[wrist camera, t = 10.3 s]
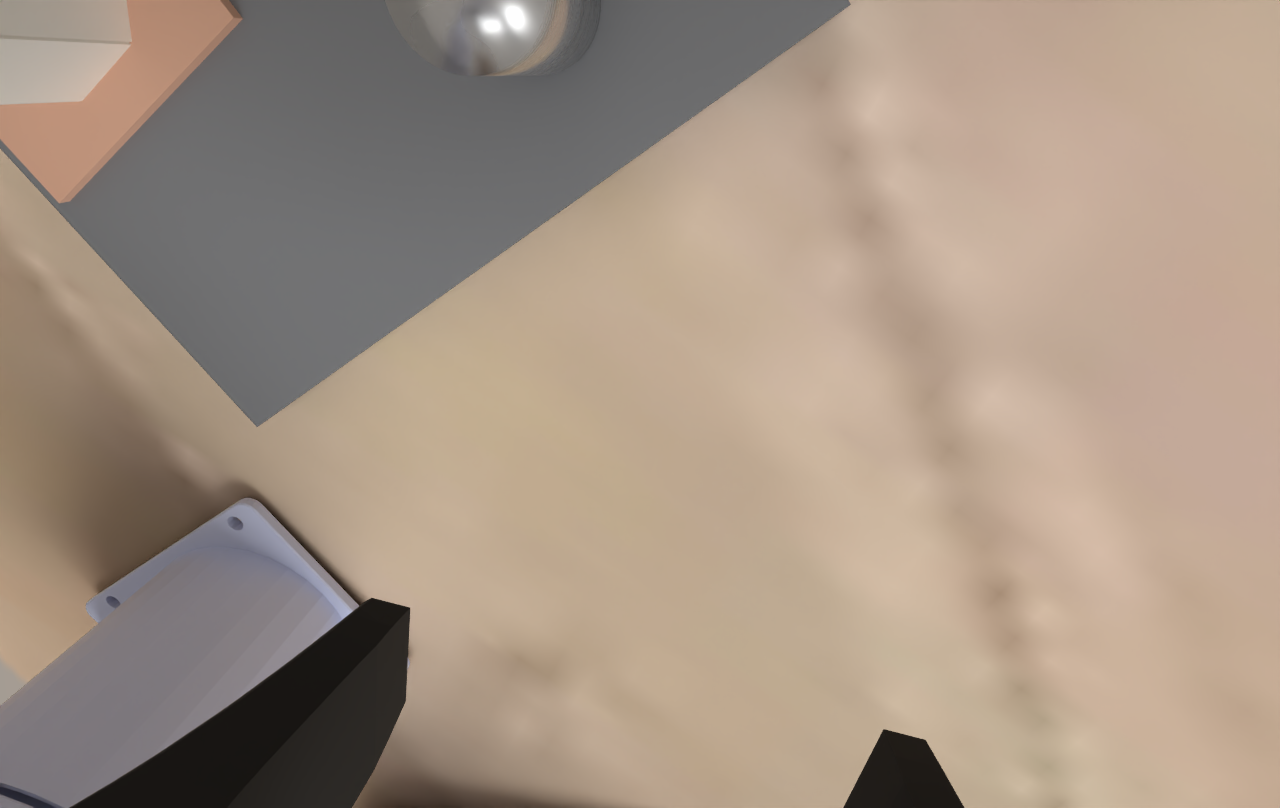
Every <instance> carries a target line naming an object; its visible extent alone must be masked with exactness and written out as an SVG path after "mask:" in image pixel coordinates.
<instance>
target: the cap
mask: <svg viewBox="0 0 1280 808" xmlns="http://www.w3.org/2000/svg"><path fill="white" fill-rule="evenodd" d="M129 42H132V38H131V31H130V23H129V16H128V8H127V0H0V105H7V104H32V103H57V102H80V101H83V100H84V99H85V97H86V96H87V95H88V94H89V93H90V92H91V90H92V89H93V88H94V87H95V86H96V85H97V84H98V82H99V81H100V80H101V79H102V78H103V77H104V76H105V74H106V73H107V72H108V71H109V70H110V69H111V68H112V66H113V65H114V64H115V63H116V62H117V61H118V60H119V58H120V57H121V56H122V55H123V54H124V53H125V52H126V50H127V49H128V48H129V47H130V46H131V44H130V43H129Z"/></svg>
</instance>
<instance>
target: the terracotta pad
mask: <svg viewBox="0 0 1280 808" xmlns="http://www.w3.org/2000/svg"><path fill="white" fill-rule="evenodd" d="M127 8H128V16H129V23H130V31H131V38H132V42H129V43H130V44H131V46H130V47H129V48H128V49H127V50H126V52H125V53H124V54H123V55H122V56H121V57H120V58H119V60H118V61H117V62H116V63H115V64H114V65H113V66H112V68H111V69H110V70H109V71H108V72H107V73H106V74H105V76H104V77H103V78H102V79H101V80H100V81H99V82H98V84H97V85H96V86H95V87H94V88H93V89H92V90H91V92H90V93H89V94H88V95H87V96H86V97H85V99H84V100H83V101H80V102H57V103H32V104H7V105H0V139H1V141H2V142H3V143H4V144H5V145H6V146H7V147H8V148H9V149H10V150H11V151H12V153H13V154H14V155H15V156H16V157H17V158H18V159H19V160H20V161H21V162H22V163H23V165H24V166H25V167H26V168H27V169H28V170H29V171H30V172H31V173H32V174H33V175H34V177H35V178H36V179H37V180H38V181H39V182H40V183H41V184H42V185H43V186H44V187H45V189H46V190H47V191H48V192H49V193H50V194H51V195H52V196H53V197H54V198H55V199H56V201H57V202H58V203H64V202H69V201H71V200H72V199H73V198H74V197H75V195H76V194H77V193H78V192H79V191H80V190H81V189H82V188H83V187H84V186H85V185H86V184H87V183H88V182H89V181H90V180H91V179H92V178H93V176H94V175H95V174H96V173H97V172H98V171H99V170H100V169H101V168H102V167H103V166H104V165H105V164H106V163H107V162H108V161H109V160H110V159H111V157H112V156H113V155H114V154H115V153H116V152H117V151H118V150H119V149H120V148H121V147H122V146H123V145H124V144H125V143H126V142H127V141H128V140H129V139H130V137H131V136H132V135H133V134H134V133H135V132H136V131H137V130H138V129H139V128H140V127H141V126H142V125H143V124H144V123H145V122H146V121H147V120H148V118H149V117H150V116H151V115H152V114H153V113H154V112H155V111H156V110H157V109H158V108H159V107H160V106H161V105H162V104H163V103H164V102H165V101H166V99H167V98H168V97H169V96H170V95H171V94H172V93H173V92H174V91H175V90H176V89H177V88H178V87H179V86H180V85H181V84H182V83H183V82H184V80H185V79H186V78H187V77H188V76H189V75H190V74H191V73H192V72H193V71H194V70H195V69H196V68H197V67H198V66H199V65H200V64H201V63H202V62H203V60H204V59H205V58H206V57H207V56H208V55H209V54H210V53H211V52H212V51H213V50H214V49H215V48H216V47H217V46H218V45H219V44H220V43H221V41H222V40H223V39H224V38H225V37H226V36H227V35H228V34H229V33H230V32H231V31H232V30H233V29H234V28H235V27H236V26H237V25H238V24H239V22H240V21H241V20H242V19H243V18H242V17H241V15H240V14H239V13H238V12H237V10H236V9H235V8H234V6H233V5H232V4H231V2H230V1H229V0H127Z"/></svg>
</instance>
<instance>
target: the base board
mask: <svg viewBox="0 0 1280 808" xmlns="http://www.w3.org/2000/svg"><path fill="white" fill-rule="evenodd" d="M229 1H230V2H231V4H232V5H233V6H234V8H235V9H236V10H237V12H238V13H239V14H240V15H241V17H242V18H243V19H242V20H241V21H240V22H239V24H238V25H237V26H236V27H235V28H234V29H233V30H232V31H231V32H230V33H229V34H228V35H227V36H226V37H225V38H224V39H223V40H222V41H221V43H220V44H219V45H218V46H217V47H216V48H215V49H214V50H213V51H212V52H211V53H210V54H209V55H208V56H207V57H206V58H205V59H204V60H203V62H202V63H201V64H200V65H199V66H198V67H197V68H196V69H195V70H194V71H193V72H192V73H191V74H190V75H189V76H188V77H187V78H186V79H185V80H184V82H183V83H182V84H181V85H180V86H179V87H178V88H177V89H176V90H175V91H174V92H173V93H172V94H171V95H170V96H169V97H168V98H167V99H166V101H165V102H164V103H163V104H162V105H161V106H160V107H159V108H158V109H157V110H156V111H155V112H154V113H153V114H152V115H151V116H150V117H149V118H148V120H147V121H146V122H145V123H144V124H143V125H142V126H141V127H140V128H139V129H138V130H137V131H136V132H135V133H134V134H133V135H132V136H131V137H130V139H129V140H128V141H127V142H126V143H125V144H124V145H123V146H122V147H121V148H120V149H119V150H118V151H117V152H116V153H115V154H114V155H113V156H112V157H111V159H110V160H109V161H108V162H107V163H106V164H105V165H104V166H103V167H102V168H101V169H100V170H99V171H98V172H97V173H96V174H95V175H94V176H93V178H92V179H91V180H90V181H89V182H88V183H87V184H86V185H85V186H84V187H83V188H82V189H81V190H80V191H79V192H78V193H77V194H76V195H75V197H74V198H73V199H72V200H71V201H69V202H64V203H58V202H57V201H56V199H55V198H54V197H53V196H52V195H51V194H50V193H49V192H48V191H47V190H46V189H45V187H44V186H43V185H42V184H41V183H40V182H39V181H38V180H37V179H36V178H35V177H34V175H33V174H32V173H31V172H30V171H29V170H28V169H27V168H26V167H25V166H24V165H23V163H22V162H21V161H20V160H19V159H18V158H17V157H16V156H15V155H14V154H13V153H12V151H11V150H10V149H9V148H8V147H7V146H6V145H5V144H4V143H3V142H2V141H1V139H0V149H1V150H2V151H3V152H4V153H5V154H6V155H7V156H8V157H9V158H10V159H11V160H12V162H13V163H14V164H15V165H16V166H17V167H18V168H19V169H20V170H21V171H22V172H23V173H24V175H25V176H26V177H27V178H28V179H29V180H30V181H31V182H32V183H33V184H34V185H35V187H36V188H37V189H38V190H39V191H40V192H41V193H42V194H43V195H44V196H45V197H46V198H47V200H48V201H49V202H50V203H51V204H52V205H53V206H54V207H55V208H56V209H57V210H58V211H59V213H60V214H61V215H62V216H63V217H64V218H65V219H66V220H67V221H68V222H69V223H70V225H71V226H72V227H73V228H74V229H75V230H76V231H77V232H78V233H79V234H80V235H81V236H82V238H83V239H84V240H85V241H86V242H87V243H88V244H89V245H90V246H91V247H92V248H93V249H94V251H95V252H96V253H97V254H98V255H99V256H100V257H101V258H102V259H103V260H104V261H105V263H106V264H107V265H108V266H109V267H110V268H111V269H112V270H113V271H114V272H115V273H116V274H117V276H118V277H119V278H120V279H121V280H122V281H123V282H124V283H125V284H126V285H127V286H128V288H129V289H130V290H131V291H132V292H133V293H134V294H135V295H136V296H137V297H138V298H139V299H140V301H141V302H142V303H143V304H144V305H145V306H146V307H147V308H148V309H149V310H150V311H151V312H152V314H153V315H154V316H155V317H156V318H157V319H158V320H159V321H160V322H161V323H162V324H163V326H164V327H165V328H166V329H167V330H168V331H169V332H170V333H171V334H172V335H173V336H174V337H175V339H176V340H177V341H178V342H179V343H180V344H181V345H182V346H183V347H184V348H185V349H186V350H187V352H188V353H189V354H190V355H191V356H192V357H193V358H194V359H195V360H196V361H197V362H198V364H199V365H200V366H201V367H202V368H203V369H204V370H205V371H206V372H207V373H208V374H209V375H210V377H211V378H212V379H213V380H214V381H215V382H216V383H217V384H218V385H219V386H220V387H221V388H222V390H223V391H224V392H225V393H226V394H227V395H228V396H229V397H230V398H231V399H232V400H233V402H234V403H235V404H236V405H237V406H238V407H239V408H240V409H241V410H242V411H243V412H244V413H245V415H246V416H247V417H248V418H249V419H250V420H251V421H252V422H253V423H254V424H255V425H256V426H257V427H258V426H259V425H261V424H262V423H263V422H265V421H266V420H268V419H269V418H270V417H272V416H273V415H275V414H276V413H278V412H279V411H280V410H282V409H283V408H285V407H286V406H287V405H289V404H290V403H292V402H293V401H294V400H296V399H297V398H299V397H300V396H301V395H303V394H304V393H306V392H307V391H308V390H310V389H311V388H313V387H314V386H315V385H317V384H318V383H320V382H321V381H322V380H324V379H325V378H327V377H328V376H330V375H331V374H332V373H334V372H335V371H337V370H338V369H339V368H341V367H342V366H344V365H345V364H346V363H348V362H349V361H351V360H352V359H353V358H355V357H356V356H358V355H359V354H360V353H362V352H363V351H365V350H366V349H367V348H369V347H370V346H372V345H373V344H374V343H376V342H377V341H379V340H380V339H381V338H383V337H384V336H386V335H387V334H389V333H390V332H391V331H393V330H394V329H396V328H397V327H398V326H400V325H401V324H403V323H404V322H405V321H407V320H408V319H410V318H411V317H412V316H414V315H415V314H417V313H418V312H419V311H421V310H422V309H424V308H425V307H426V306H428V305H429V304H431V303H432V302H433V301H435V300H436V299H438V298H439V297H441V296H442V295H443V294H445V293H446V292H448V291H449V290H450V289H452V288H453V287H455V286H456V285H457V284H459V283H460V282H462V281H463V280H464V279H466V278H467V277H469V276H470V275H471V274H473V273H474V272H476V271H477V270H478V269H480V268H481V267H483V266H484V265H485V264H487V263H488V262H490V261H491V260H492V259H494V258H495V257H497V256H498V255H500V254H501V253H502V252H504V251H505V250H507V249H508V248H509V247H511V246H512V245H514V244H515V243H516V242H518V241H519V240H521V239H522V238H523V237H525V236H526V235H528V234H529V233H530V232H532V231H533V230H535V229H536V228H537V227H539V226H540V225H542V224H543V223H544V222H546V221H547V220H549V219H550V218H551V217H553V216H554V215H556V214H557V213H559V212H560V211H561V210H563V209H564V208H566V207H567V206H568V205H570V204H571V203H573V202H574V201H575V200H577V199H578V198H580V197H581V196H582V195H584V194H585V193H587V192H588V191H589V190H591V189H592V188H594V187H595V186H596V185H598V184H599V183H601V182H602V181H603V180H605V179H606V178H608V177H609V176H611V175H612V174H613V173H615V172H616V171H618V170H619V169H620V168H622V167H623V166H625V165H626V164H627V163H629V162H630V161H632V160H633V159H634V158H636V157H637V156H639V155H640V154H641V153H643V152H644V151H646V150H647V149H648V148H650V147H651V146H653V145H654V144H655V143H657V142H658V141H660V140H661V139H662V138H664V137H665V136H667V135H668V134H670V133H671V132H672V131H674V130H675V129H677V128H678V127H679V126H681V125H682V124H684V123H685V122H686V121H688V120H689V119H691V118H692V117H693V116H695V115H696V114H698V113H699V112H700V111H702V110H703V109H705V108H706V107H707V106H709V105H710V104H712V103H713V102H714V101H716V100H717V99H719V98H720V97H721V96H723V95H724V94H726V93H727V92H729V91H730V90H731V89H733V88H734V87H736V86H737V85H738V84H740V83H741V82H743V81H744V80H745V79H747V78H748V77H750V76H751V75H752V74H754V73H755V72H757V71H758V70H759V69H761V68H762V67H764V66H765V65H766V64H768V63H769V62H771V61H772V60H773V59H775V58H776V57H778V56H779V55H780V54H782V53H783V52H785V51H786V50H788V49H789V48H790V47H792V46H793V45H795V44H796V43H797V42H799V41H800V40H802V39H803V38H804V37H806V36H807V35H809V34H810V33H811V32H813V31H814V30H816V29H817V28H818V27H820V26H821V25H823V24H824V23H825V22H827V21H828V20H830V19H831V18H832V17H834V16H835V15H837V14H838V13H840V12H841V11H842V10H844V9H845V8H847V7H848V6H849V5H850V3H849V1H848V0H601V17H600V22H599V27H598V30H597V33H596V36H595V38H594V40H593V42H592V44H591V46H590V47H589V49H588V51H587V52H586V53H585V54H584V56H583V57H582V58H581V59H580V60H579V61H578V62H577V63H576V64H574V65H573V66H571V67H570V68H568V69H566V70H564V71H562V72H559V73H556V74H552V75H546V76H463V75H457V74H453V73H450V72H447V71H444V70H442V69H440V68H438V67H436V66H434V65H432V64H431V63H429V62H428V61H426V60H425V59H424V58H422V57H421V56H420V55H419V54H418V53H417V52H416V51H415V50H414V49H413V48H412V47H411V46H410V45H409V44H408V43H407V41H406V40H405V39H404V38H403V36H402V35H401V33H400V32H399V30H398V29H397V27H396V25H395V23H394V21H393V19H392V17H391V15H390V13H389V10H388V7H387V5H386V2H385V0H229Z"/></svg>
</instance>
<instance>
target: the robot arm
mask: <svg viewBox="0 0 1280 808" xmlns="http://www.w3.org/2000/svg"><path fill="white" fill-rule="evenodd" d="M238 519H240V520H241V521H240V520H238ZM86 610H87V612H88V614H89V615H90V616H91V617H92V618H93V619H94V620H95V621H97V622H98V624H97V625H96V626H95V627H94V628H92V629H91V630H90V631H89V632H88V633H86V634H85V635H84V636H83V637H82V638H80V639H79V640H78V641H77V642H76V643H74V644H73V645H72V646H71V647H70V648H68V649H67V650H66V651H65V652H64V653H63V654H61V655H60V656H59V657H58V658H57V659H55V660H54V661H53V662H52V663H51V664H49V665H48V666H47V667H46V668H45V669H43V670H42V671H41V672H40V673H39V674H37V675H36V676H35V677H34V678H33V679H32V680H30V681H29V682H28V683H27V684H26V685H24V686H23V687H22V688H21V689H20V690H18V691H17V692H16V693H15V694H14V695H12V696H11V697H10V698H9V699H8V700H6V701H5V702H4V703H3V704H2V705H1V706H0V808H352V806H353V805H354V803H355V801H356V800H357V798H358V796H359V795H360V793H361V791H362V789H363V788H364V786H365V784H366V783H367V781H368V779H369V777H370V776H371V774H372V772H373V770H374V769H375V767H376V765H377V762H378V760H379V758H380V756H381V754H382V752H383V750H384V748H385V746H386V743H387V741H388V739H389V737H390V735H391V733H392V730H393V728H394V726H395V724H396V721H397V719H398V717H399V715H400V713H401V710H402V708H403V706H404V704H405V702H406V683H407V669H408V668H409V665H410V661H409V658H408V643H409V622H410V608H409V607H405V606H401V605H397V604H393V603H389V602H386V601H382V600H378V599H374V598H371V599H369V600H367V601H365V602H364V603H363V604H361V605H360V606H359V605H358V604H357V603H356V602H355V601H354V600H353V599H352V598H351V597H350V596H349V595H348V594H347V593H346V591H345V590H344V589H343V588H342V587H341V586H340V585H339V584H338V583H337V582H336V581H335V580H334V579H333V578H332V577H331V576H330V575H329V574H328V573H327V572H326V571H325V570H324V568H323V567H322V566H321V565H320V564H319V563H318V562H317V561H316V560H315V559H314V558H313V557H312V556H311V555H310V554H309V553H308V552H307V551H306V550H305V549H304V548H303V547H302V545H301V544H300V543H299V542H298V541H297V540H296V539H295V538H294V537H293V536H292V535H291V534H290V533H289V532H288V531H287V530H286V529H285V528H284V527H283V526H282V525H281V524H280V523H279V521H278V520H277V519H276V518H275V517H274V516H273V515H272V514H271V513H270V512H269V511H268V510H267V509H266V508H265V507H264V506H263V505H262V504H261V503H260V502H259V501H257V500H255V499H252V498H243V499H240V500H239V501H237V502H236V503H234V504H233V505H231V506H230V507H228V508H227V509H225V510H224V511H222V512H221V513H219V514H218V515H216V516H215V517H213V518H212V519H210V520H209V521H207V522H206V523H204V524H203V525H201V526H200V527H198V528H197V529H195V530H194V531H192V532H191V533H189V534H188V535H186V536H185V537H183V538H182V539H180V540H179V541H177V542H176V543H174V544H172V545H171V546H169V547H168V548H166V549H165V550H163V551H162V552H160V553H159V554H157V555H156V556H154V557H153V558H151V559H150V560H148V561H147V562H145V563H144V564H142V565H141V566H139V567H138V568H136V569H135V570H133V571H132V572H130V573H129V574H127V575H126V576H124V577H123V578H121V579H120V580H118V581H117V582H115V583H114V584H112V585H111V586H109V587H108V588H106V589H105V590H103V591H101V592H100V593H98V594H97V595H95V596H94V597H93V598H92V599H90V600H89V601H88V602H87V603H86ZM844 808H964V806H963V805H962V803H961V801H960V799H959V798H958V796H957V794H956V792H955V791H954V789H953V787H952V785H951V783H950V782H949V780H948V778H947V776H946V775H945V773H944V771H943V769H942V768H941V766H940V764H939V762H938V761H937V759H936V757H935V756H934V754H933V752H932V750H931V749H930V747H929V745H928V744H927V742H926V740H924V739H920V738H916V737H912V736H908V735H904V734H900V733H896V732H892V731H888V730H885V729H884V730H883V732H882V734H881V735H880V737H879V739H878V741H877V743H876V745H875V747H874V749H873V751H872V753H871V755H870V757H869V759H868V761H867V763H866V765H865V767H864V769H863V771H862V772H861V774H860V776H859V778H858V780H857V782H856V784H855V786H854V788H853V790H852V792H851V794H850V796H849V798H848V800H847V802H846V804H845V806H844Z"/></svg>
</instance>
